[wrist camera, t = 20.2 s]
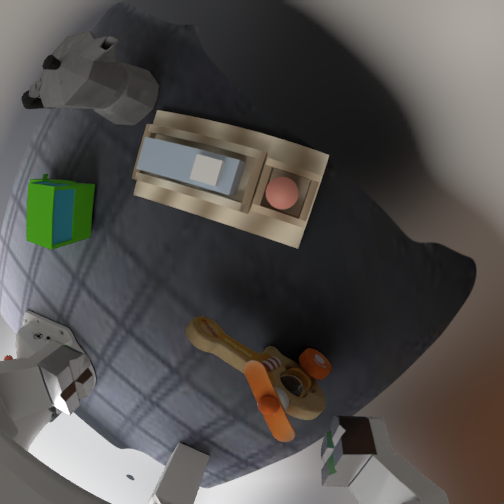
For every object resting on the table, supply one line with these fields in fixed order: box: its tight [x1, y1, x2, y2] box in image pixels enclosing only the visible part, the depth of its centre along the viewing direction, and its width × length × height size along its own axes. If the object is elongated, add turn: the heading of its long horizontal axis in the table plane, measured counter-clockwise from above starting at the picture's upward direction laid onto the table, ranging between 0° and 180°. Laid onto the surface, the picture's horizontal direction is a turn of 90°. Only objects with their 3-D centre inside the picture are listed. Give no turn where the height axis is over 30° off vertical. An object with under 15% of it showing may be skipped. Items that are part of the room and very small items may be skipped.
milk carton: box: [149, 442, 210, 504], centre depth 39 cm, size 7×7×19 cm
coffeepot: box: [22, 31, 159, 125], centre depth 25 cm, size 15×9×18 cm, turn 101°
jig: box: [132, 110, 329, 249], centre depth 33 cm, size 23×12×4 cm, turn 73°
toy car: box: [27, 174, 95, 250], centre depth 34 cm, size 10×13×10 cm
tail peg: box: [266, 177, 299, 209], centre depth 29 cm, size 3×3×8 cm
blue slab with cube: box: [136, 137, 246, 195], centre depth 32 cm, size 12×4×5 cm, turn 73°
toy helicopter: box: [185, 316, 332, 442], centre depth 33 cm, size 8×21×14 cm, turn 56°
